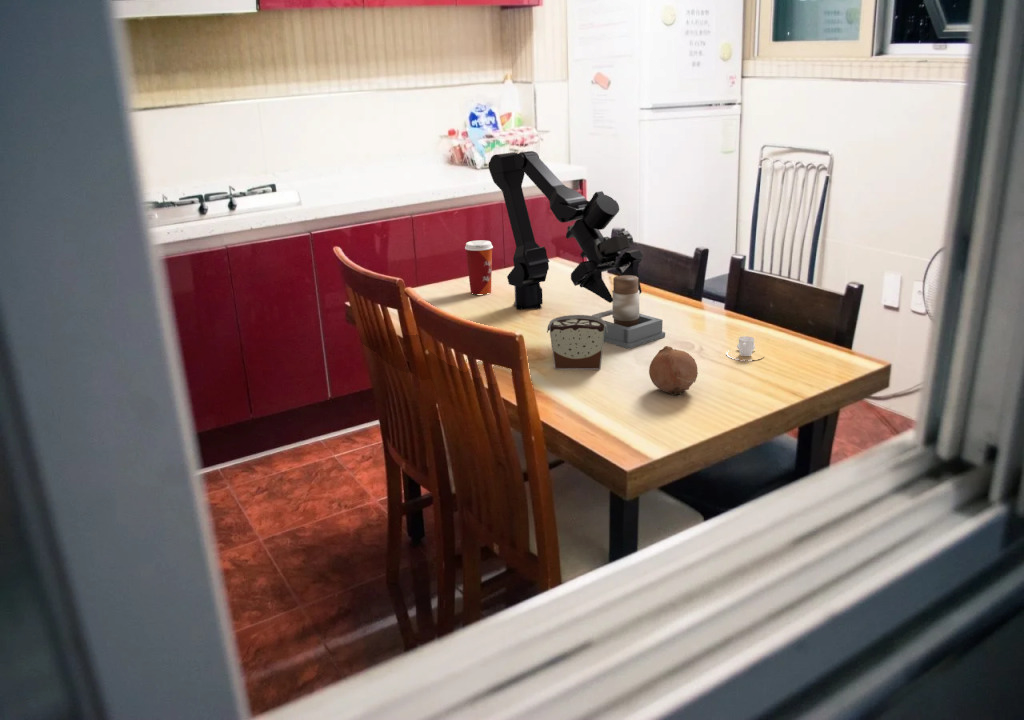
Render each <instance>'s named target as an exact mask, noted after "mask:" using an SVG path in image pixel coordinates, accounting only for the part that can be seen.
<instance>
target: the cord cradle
mask: <svg viewBox="0 0 1024 720" xmlns="http://www.w3.org/2000/svg"><path fill="white" fill-rule="evenodd" d="M591 316H594V317H598V318H601V319H602V318H606V317H608V316H613V308H612V309H609V310H605V311H602V312H598V313H595V314H592V315H591ZM603 320H604V319H603ZM604 321H605V324H606V326H607V331H608V333H607V331H606V330H605V333H604V342H606V343H609V344H612V345H615V346H618V347H621V348H624V349H628V350H630V349H632V348H635V347H639V346H641V345H644V344H648V343H651V342H653V341H656V340H659V339H662V338H665V337H666V332H665V331H663V319H661V318H658V317H654V316H651V315H646V314H642V313H640V312H639V318H638V325H635V326H632V327H625V326H622V325H618V324H615V323H614V322H611V321H607V320H604Z"/></svg>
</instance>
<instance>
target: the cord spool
mask: <svg viewBox="0 0 1024 720" xmlns="http://www.w3.org/2000/svg"><path fill="white" fill-rule="evenodd" d="M638 277H639V276H638ZM638 277H636V276H631V275H622V276H620V275H617V276H614V277H613V279H612V280H613V281H612V282H613V284H612V285H613V290H612V293H611V296H612V298H613V301H612V302H611V303H612V309H613V315H612V319H613V323H615V324H618V325H622V326H625V327H632V326H635V325H638V318H639V313H640V295H639V290H638Z"/></svg>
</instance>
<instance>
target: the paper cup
mask: <svg viewBox="0 0 1024 720" xmlns="http://www.w3.org/2000/svg"><path fill="white" fill-rule="evenodd" d="M493 248H494V246H493V244H492V242H491V241H490V240H485V239H483V240H479V239H478V240H471V241H468V242H466V243H465V247H464V249H465V254H466V261H467V262H466V263H467V271H468V273H467V274H468V279H469V288H470V294H471V293H473V294H487V293H490V294H491V293H492V266H493V265H492V264H493V263H492V262H493V259H492V258H493Z"/></svg>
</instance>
